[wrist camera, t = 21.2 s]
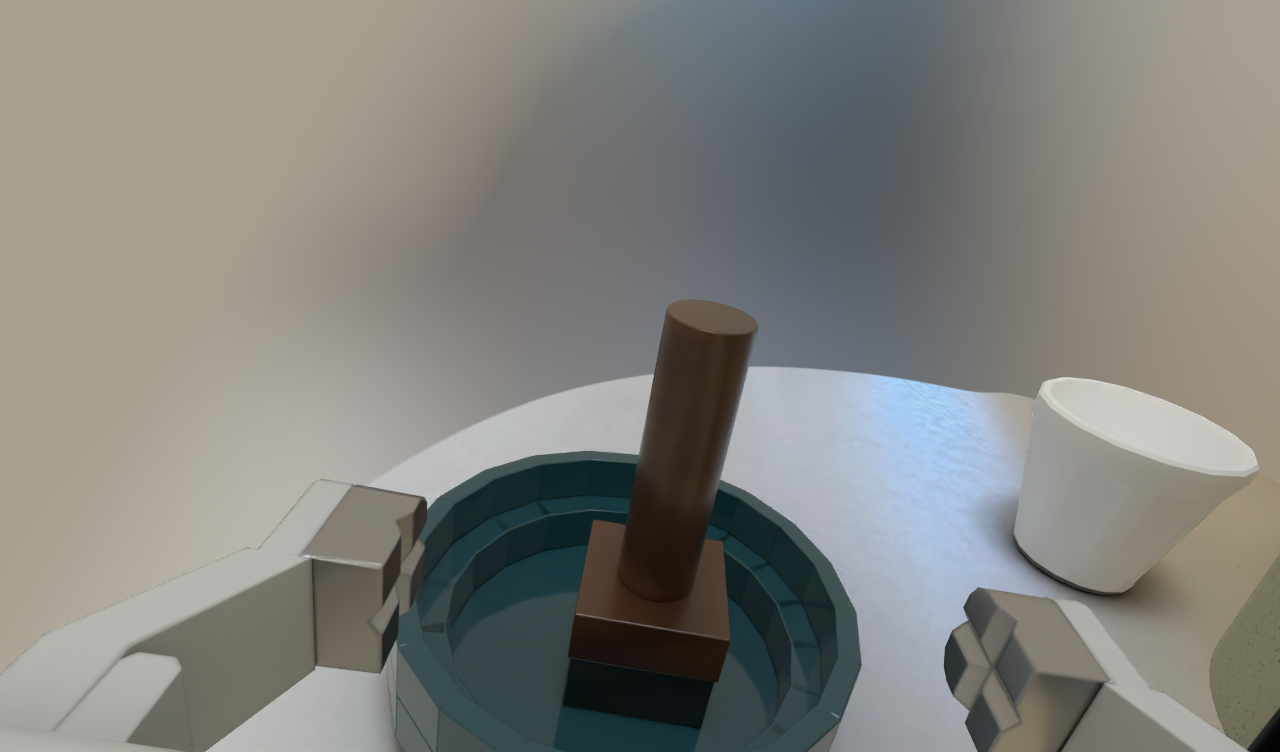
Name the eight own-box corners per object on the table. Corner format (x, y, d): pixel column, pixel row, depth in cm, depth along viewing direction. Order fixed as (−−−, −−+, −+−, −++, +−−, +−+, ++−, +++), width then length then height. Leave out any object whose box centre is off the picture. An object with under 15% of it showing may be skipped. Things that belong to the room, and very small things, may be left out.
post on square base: (559, 707, 25) (620, 331, 19) (579, 603, 29) (633, 275, 23) (704, 732, 25) (811, 365, 19) (701, 624, 29) (786, 303, 23)
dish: (282, 802, 21) (272, 685, 19) (496, 503, 36) (504, 419, 34) (828, 988, 19) (884, 881, 17) (816, 590, 34) (845, 506, 32)
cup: (1193, 654, 34) (1298, 500, 30) (979, 575, 37) (1049, 424, 34) (1147, 545, 43) (1224, 414, 39) (976, 487, 46) (1032, 360, 42)
